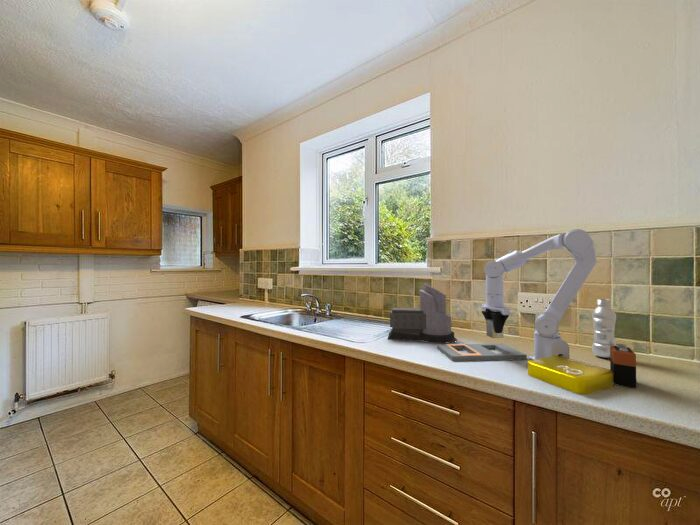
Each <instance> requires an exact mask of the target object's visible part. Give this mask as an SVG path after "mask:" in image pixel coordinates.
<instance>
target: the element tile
mask: <svg viewBox="0 0 700 525" xmlns="http://www.w3.org/2000/svg"><path fill="white" fill-rule="evenodd" d="M527 375H528V376H529V377H532V378H534V379H537V380H540V381H542V382H544V383H548V384H550V385H552V386H555V387H558V388H560V389H562V390H566V391H569V392H571V393H575V394H578V395H590V394H593V393H597V392H600V391H601V392H602V391H604V390H607V389H611V388H614V386H615V384H614V378H613V371H612V370H610V369H609V368H605V367H601V366H599V365H594V364H592V363H587V362H583V361H582V360H576V359H574V358H570V357H569V358H566V357H563V356H558V355H557V356H551V357H545V358H540V359H535V360H532V359H530V360H528V361H527Z"/></svg>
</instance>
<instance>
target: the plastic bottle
mask: <svg viewBox="0 0 700 525" xmlns="http://www.w3.org/2000/svg"><path fill="white" fill-rule="evenodd" d="M596 305H597V306H596V307H595V308H594V310H592V313H591V318H592V324H593V342H592V345H591V346H592V347H591V350H592V353H593V355H595V356H597V357H601V358H604V359H610V346H617V345H616V340H615V328H616V323H617V314H616V312H615V311H614V309H613V308H612V307H611V306H612V304H611V299H608V298H607V299H604V298H597V299H596Z"/></svg>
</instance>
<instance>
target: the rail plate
mask: <svg viewBox="0 0 700 525" xmlns="http://www.w3.org/2000/svg"><path fill="white" fill-rule="evenodd" d="M436 349H437V350H438V351H439V350H440V353H442V354H443V355H444V354H445V357H446V358H448V359H449V358H450V359H449V360H451V361H452V362H458V361H459V362H462V361H469V362H470V361H499V360H501V361H504V360H512V361H513V360H527V359H528V356H527V354H526V353H524V352H522V351H519V350H517V349H515V348H513V347H510V346H508V345H506V344H504V343H470V344H469V343H445V344H436ZM495 349H496V350H495ZM458 350H459V351H458ZM463 350H464V351H466V352H467V353H461V352H460V351H463ZM492 350H495V351H497V350H498V352H499V353H496V352H494V351H492Z"/></svg>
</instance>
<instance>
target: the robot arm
mask: <svg viewBox="0 0 700 525" xmlns="http://www.w3.org/2000/svg"><path fill="white" fill-rule="evenodd" d="M564 247H565V249H566V250H567V251H568V252H569V253H570V254H571V256H572V258H573V260H574V261H575V262H574V265H573V266H572V268H571V269H570V270H569V272H568V274H567V275H566V277H565V279H564V281H563V282H562V284H561V285H560V287H559V289H558V290H557V292H556V293H555V295H554V296H553V298H552V300H551V301H550V303H549V304H548V306H547V307H546V308H545V310H544V312H542V313H540V314H539V315H537V317H536V320H535V322H534V328H535V331H533V344H534V345H533V346H534V347H533V348H534V350H533V352H534V354H533V356H531V355H530V356H527V359H530V360H535V359H540V358H545V357H551V356H557V355H558V356H563V357H566V358H570V345H569V343H568V342H567V341H566V340H564V339H563V338H562V336H561V332H560V333H559V332H558V331H559V328H560V326H559V325H560V322H561V320H562V319H563V316H564V314H565V313H566V311H567V310H568V307H570V305H571V303H572V302H573V300H574V299H575V297H576V295H577V294H578V292H579V290H580V289H581V287H582V286H583V284H584V283H585V281H586V280H587V279H588V276H589V275H590V274H591V272H592V270H593V269H594V268H595V266H596V264H597V258H596V256H597V255H596V252H595V246H594V240H593V239H592V237H591V235H589V233H588V232H587V231H586V230H584V229H582V228H581V229H580V228H575V229H570V230H568V231H567V232H566V233H565V232H563V233H560V234H557V235H554V236H551V237H549V238H547V239H545V240H543V241H541V242H538V243H536V244H535V245H532V246H531V247H529V248H527V249H525V250H523V251H520V250H514V251H513V250H509V251H508V253H507V254H506V255H503V256H501V257H496V258H495V260H490V261H488V262H487V263H486V264H485V265H484V268H483V271H484V273H485V303H481V309H482V310H481V314H482V315H483V317H484V319H485V321H486V319H493V322H494V329H495V333H502V331H503V332H504V327H505V324H506V322H507V320H508V318H509V316H510V313H511V312H510V308H507V307H506V306H504V282H503V281H504V279H503V275H504V273H509V272H511V271H514V270H517V269H518V268H520V267H523V266H525V265H526V263H527V260H529V259H532V258H534V257H537V256H538V255H541V254H545V253H546V252H550V251H551V250H563V249H564Z"/></svg>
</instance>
